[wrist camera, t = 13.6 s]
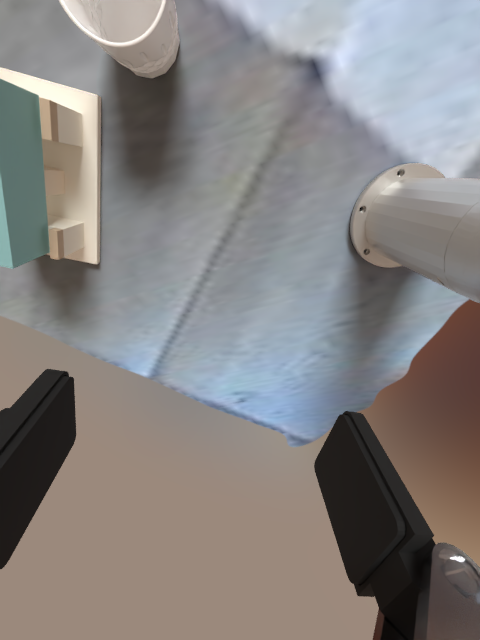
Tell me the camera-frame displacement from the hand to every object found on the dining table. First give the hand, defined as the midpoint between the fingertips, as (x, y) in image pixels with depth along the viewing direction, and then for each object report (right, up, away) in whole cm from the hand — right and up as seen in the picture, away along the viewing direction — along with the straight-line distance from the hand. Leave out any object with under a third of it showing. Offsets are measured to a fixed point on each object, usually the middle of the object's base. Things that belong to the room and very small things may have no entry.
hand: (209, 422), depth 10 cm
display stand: (-20, +20, +23) cm, 36 cm away
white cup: (-8, +32, +18) cm, 37 cm away
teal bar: (-20, +17, +17) cm, 32 cm away
